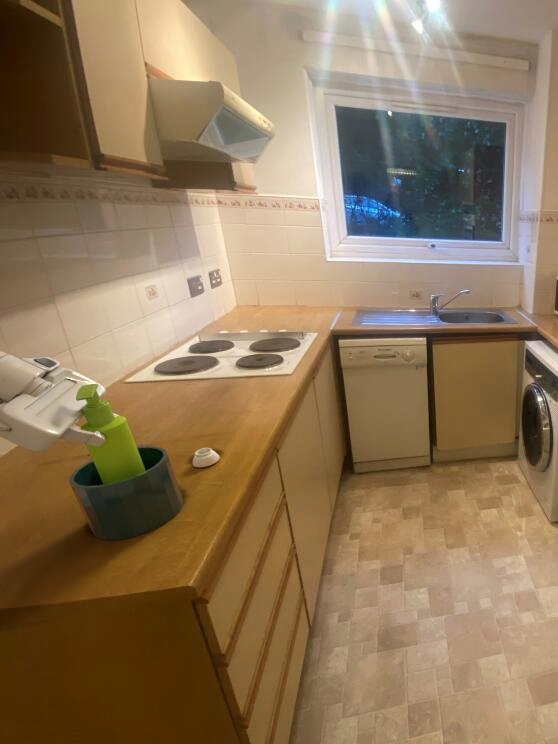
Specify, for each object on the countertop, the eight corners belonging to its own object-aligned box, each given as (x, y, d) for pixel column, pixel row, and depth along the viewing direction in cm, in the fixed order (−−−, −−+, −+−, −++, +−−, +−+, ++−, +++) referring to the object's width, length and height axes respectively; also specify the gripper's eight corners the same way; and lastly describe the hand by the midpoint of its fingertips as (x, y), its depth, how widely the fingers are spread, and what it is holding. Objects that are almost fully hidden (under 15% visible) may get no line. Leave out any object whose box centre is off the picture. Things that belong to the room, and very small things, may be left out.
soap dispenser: (104, 504, 74) (56, 399, 66) (110, 483, 79) (67, 383, 71) (147, 493, 77) (107, 391, 69) (150, 473, 82) (113, 376, 74)
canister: (79, 549, 73) (53, 495, 68) (109, 503, 84) (88, 455, 80) (174, 527, 78) (155, 476, 74) (190, 487, 89) (174, 440, 85)
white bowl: (218, 454, 101) (192, 461, 98) (214, 443, 99) (188, 450, 96) (221, 463, 97) (194, 471, 94) (218, 452, 96) (190, 459, 93)
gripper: (-19, 398, 58) (100, 446, 65) (54, 353, 75) (141, 396, 83) (-50, 434, 58) (73, 478, 65) (30, 381, 75) (120, 421, 83)
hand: (111, 431), depth 74 cm, fingers closed on soap dispenser, 6 cm apart
